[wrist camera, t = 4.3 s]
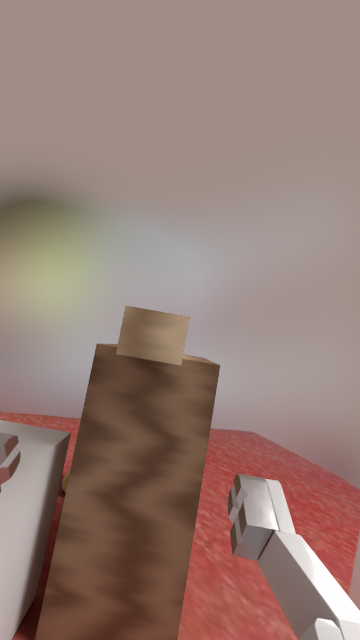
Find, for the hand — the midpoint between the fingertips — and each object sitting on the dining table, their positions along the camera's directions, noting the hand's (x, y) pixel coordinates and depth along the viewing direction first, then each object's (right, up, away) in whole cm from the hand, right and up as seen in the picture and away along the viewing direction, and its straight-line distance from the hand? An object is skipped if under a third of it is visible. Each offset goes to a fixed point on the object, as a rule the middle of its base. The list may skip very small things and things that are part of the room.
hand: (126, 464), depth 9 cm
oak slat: (0, +2, +17) cm, 17 cm away
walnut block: (-5, -24, +19) cm, 31 cm away
